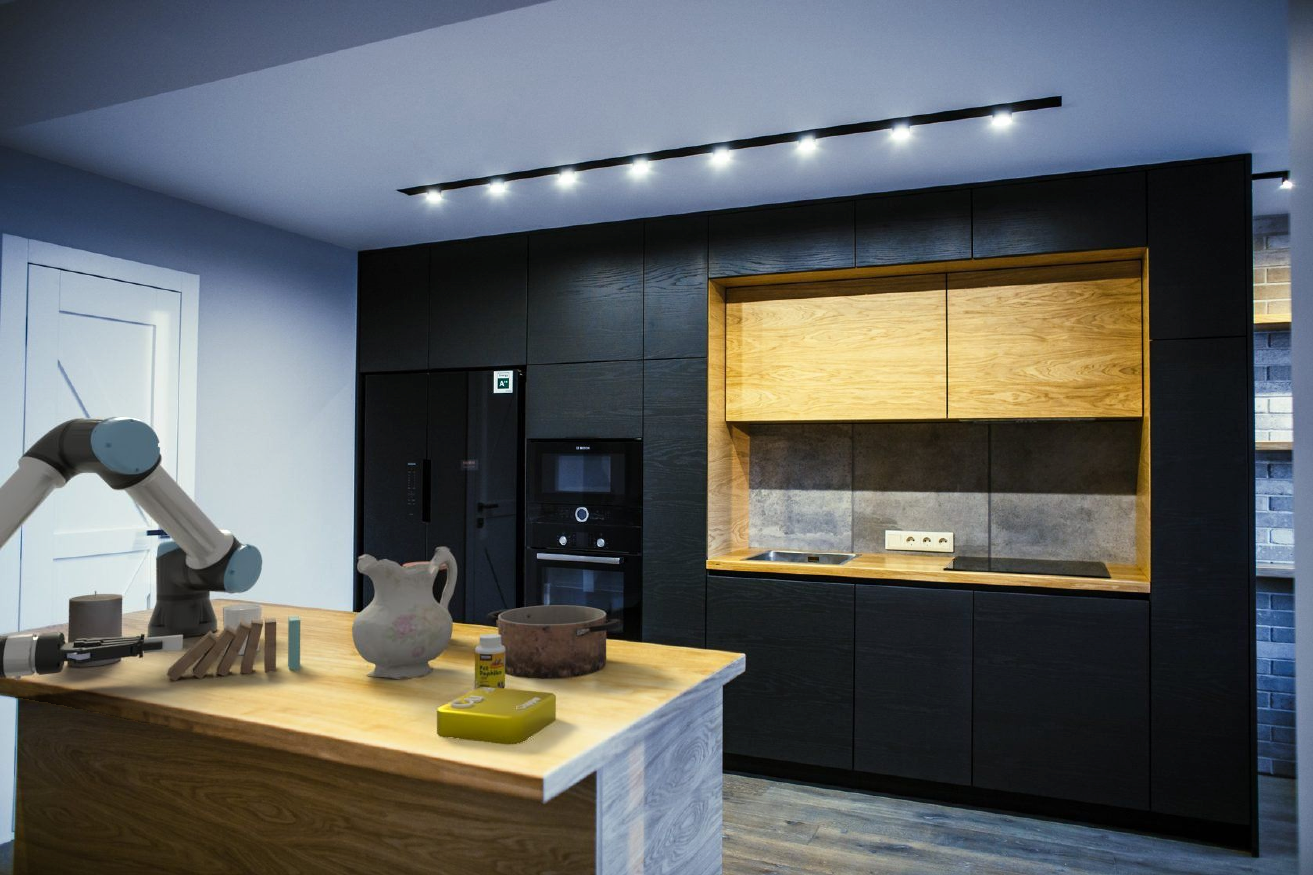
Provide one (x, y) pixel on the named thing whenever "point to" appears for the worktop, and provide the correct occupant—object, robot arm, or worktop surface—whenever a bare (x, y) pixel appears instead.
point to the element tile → (496, 715)
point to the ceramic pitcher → (404, 616)
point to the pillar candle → (95, 620)
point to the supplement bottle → (490, 662)
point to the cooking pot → (553, 640)
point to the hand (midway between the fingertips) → (182, 642)
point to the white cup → (241, 617)
